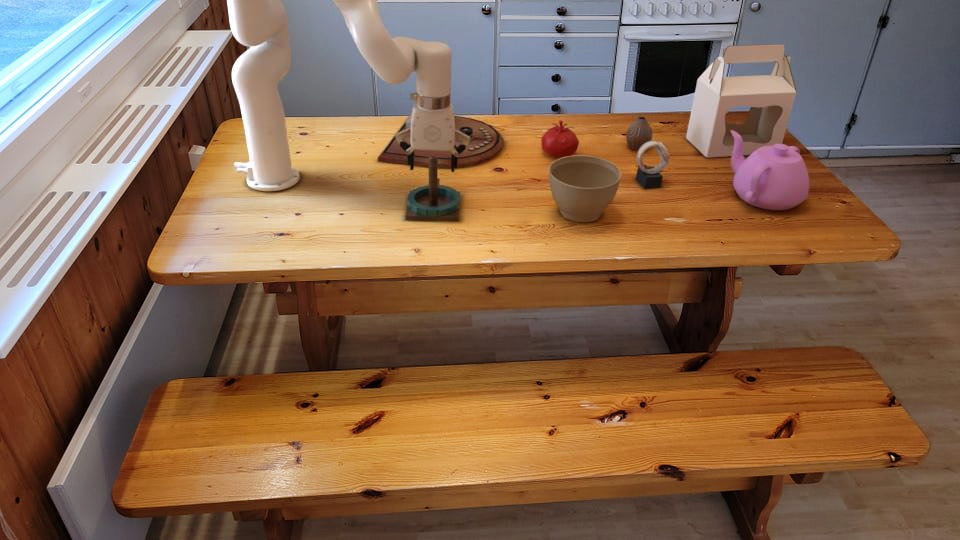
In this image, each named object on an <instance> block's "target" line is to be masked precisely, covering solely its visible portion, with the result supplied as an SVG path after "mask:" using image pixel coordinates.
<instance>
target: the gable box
mask: <svg viewBox="0 0 960 540" xmlns="http://www.w3.org/2000/svg"><path fill="white" fill-rule="evenodd" d="M791 57H792V56H791V55H786V54H785V45H784V44H783V43H766V44H765V43H763V44H740V45H739V44H737V45H735V44H734V45H728V46H726V47H725V48H722V56H718V57H716V58H714V59H713V62H712V63H711V64H710V65H709V66H708V67H707V68H706V69H705V70H704V71H703V72H702V74H701V75H699V77H698V78H697V80H696V86H695V90H694V95H693V100H692V105H691V111H690V116H689V121H688V125H687V131H686V135H685V139H686V140H687V141H688V142H689V143H690V144H691V145H692V146H694V148H696V149H697V150H698V151H699V152H700V153H701V154H702V155H703V156H704V157H705V158H707V159H710V158H711V159H712V158H724V157H725V158H726V157H732V153H733V149H734V137H733V135H732V133H731V132H730V130H734V131H735V132H737V133H738V134H739V135H740V136H741V137H742V140H743V156H750V155H751V154H752V153H753V152H754V151H756V150H757V149H758V148H760V147H763V146H774V144H783V141H784V138H785V135H786V131H787V128H788V124H789V121H790V117H791V114H792V110H793V107H794V104H795V99H796V95H797V87H796V83H795V80H794V77H793V73H792V68H791V65H790V63H791ZM750 63H775V65H774V67H773V69H772V72H771V74H765V75H764V74H763V75H739V76H724V73H725V68H726V67H725V66H726V65H730V64H750ZM737 107H750V108H749V110H748V116H747V119H746V122H745V123H742V124H736V123H733V122H726V114H727V112H728V111H729V110H730V109H731V110H732V109H733V108H737Z"/></svg>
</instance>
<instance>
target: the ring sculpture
mask: <svg viewBox="0 0 960 540" xmlns="http://www.w3.org/2000/svg"><path fill="white" fill-rule="evenodd" d="M652 147H655V150H656V153H657V154H658V155H659V157H660V159H661V161H660V162H659V163H658V164H657V165H656V166H645V165H644V160H643V155H644V153H645V152H646V151H647V150H649V149H650V148H652ZM670 159H671V156H670V153H669V150H668V149H667V148H666V146H665V145H664V143H663V142H661V141H659V142H658V141H657V140H651V141H649V142H646V143H645V144H643V145H642V146H641V147H640V149H639V150H638V151H637V153H636V163H637V165H638V167H637V169H636V175H635V180H636V181H637V183H639V185H640V186H641V187H642V188H643V189H644V190H649V189H650V190H651V189H660V188H661V187H662V184H663V179H664V176H663V175H662V174H661V172H662V171H663V170H664V169H665V168H666V167H667V165H669V160H670Z"/></svg>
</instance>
